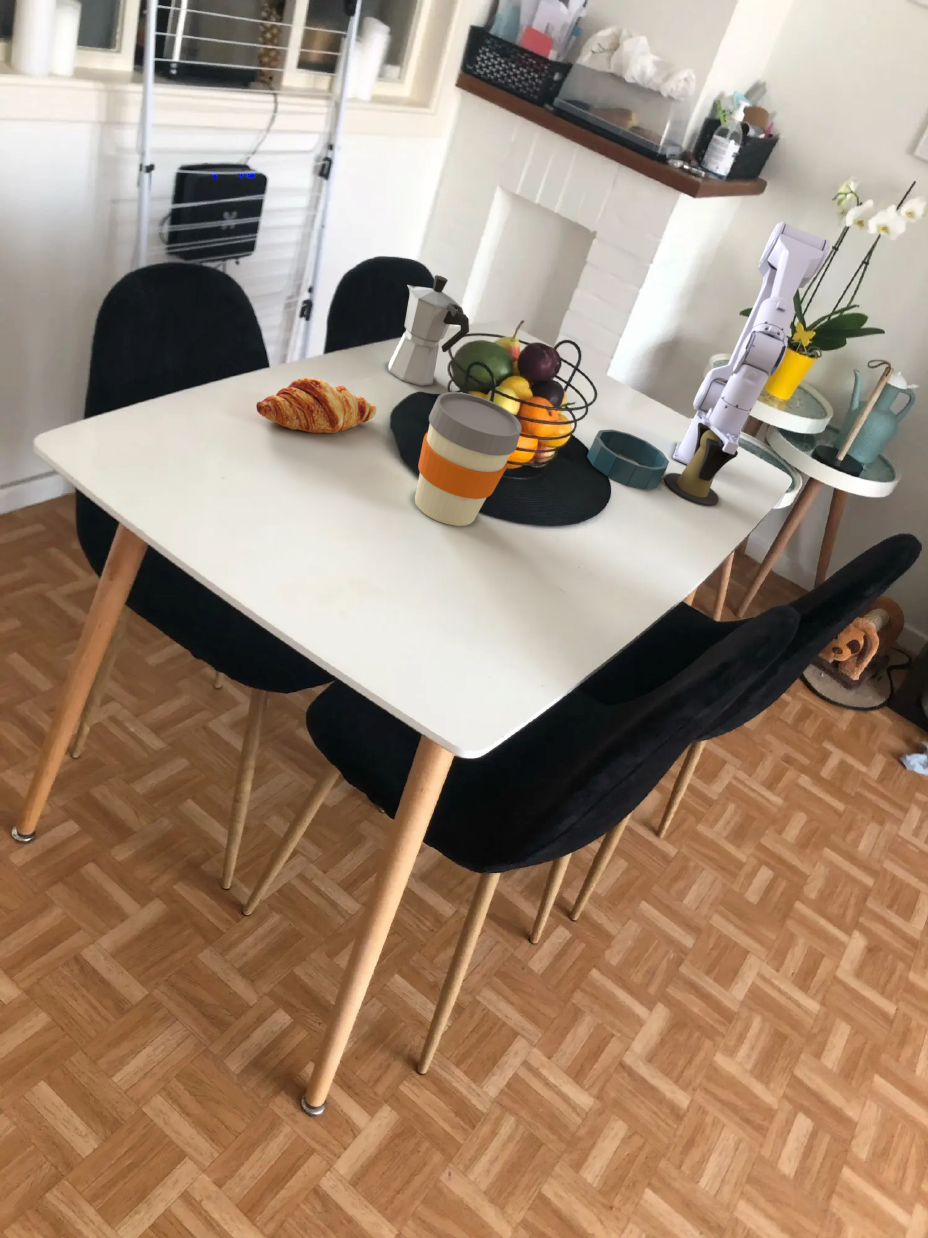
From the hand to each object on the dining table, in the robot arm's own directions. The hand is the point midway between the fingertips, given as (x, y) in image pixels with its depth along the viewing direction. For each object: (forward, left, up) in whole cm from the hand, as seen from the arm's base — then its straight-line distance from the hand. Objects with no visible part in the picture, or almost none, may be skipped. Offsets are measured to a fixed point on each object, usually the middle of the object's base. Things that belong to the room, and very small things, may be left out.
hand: (700, 471), depth 178 cm
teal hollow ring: (+4, -13, -4) cm, 14 cm away
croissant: (+39, -57, -4) cm, 69 cm away
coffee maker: (+5, -53, -4) cm, 53 cm away
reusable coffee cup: (+47, -33, -4) cm, 58 cm away
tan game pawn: (0, 0, -4) cm, 4 cm away
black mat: (0, 0, -4) cm, 4 cm away
